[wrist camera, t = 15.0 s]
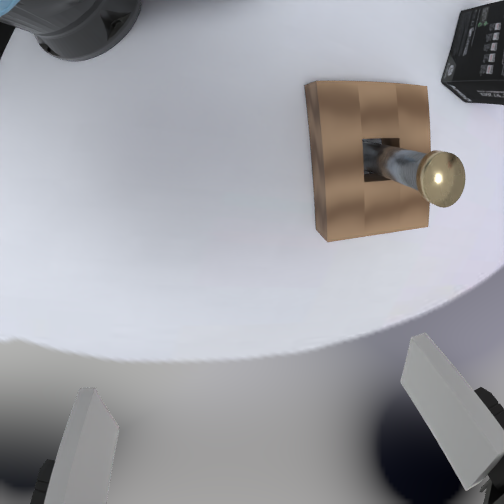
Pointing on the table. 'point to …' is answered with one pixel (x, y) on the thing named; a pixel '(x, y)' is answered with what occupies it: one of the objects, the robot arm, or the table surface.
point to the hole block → (351, 156)
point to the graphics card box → (478, 56)
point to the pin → (418, 171)
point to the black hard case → (4, 35)
